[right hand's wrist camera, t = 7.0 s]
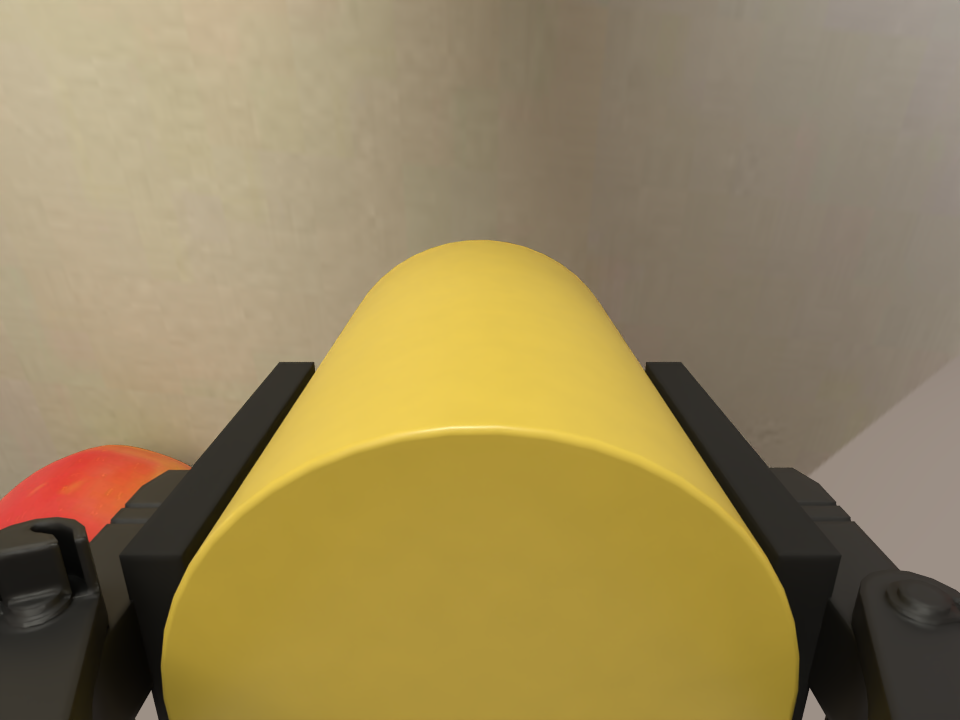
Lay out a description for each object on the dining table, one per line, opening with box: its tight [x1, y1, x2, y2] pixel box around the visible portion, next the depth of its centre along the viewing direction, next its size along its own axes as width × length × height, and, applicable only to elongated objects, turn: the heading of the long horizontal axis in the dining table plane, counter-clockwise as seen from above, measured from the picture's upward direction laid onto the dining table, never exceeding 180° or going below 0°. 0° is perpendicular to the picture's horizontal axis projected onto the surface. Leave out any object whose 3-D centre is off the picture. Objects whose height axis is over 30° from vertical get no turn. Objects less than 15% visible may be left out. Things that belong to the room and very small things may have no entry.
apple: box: [0, 445, 192, 542], centre depth 29 cm, size 10×10×10 cm
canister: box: [161, 240, 799, 720], centre depth 12 cm, size 7×7×10 cm
